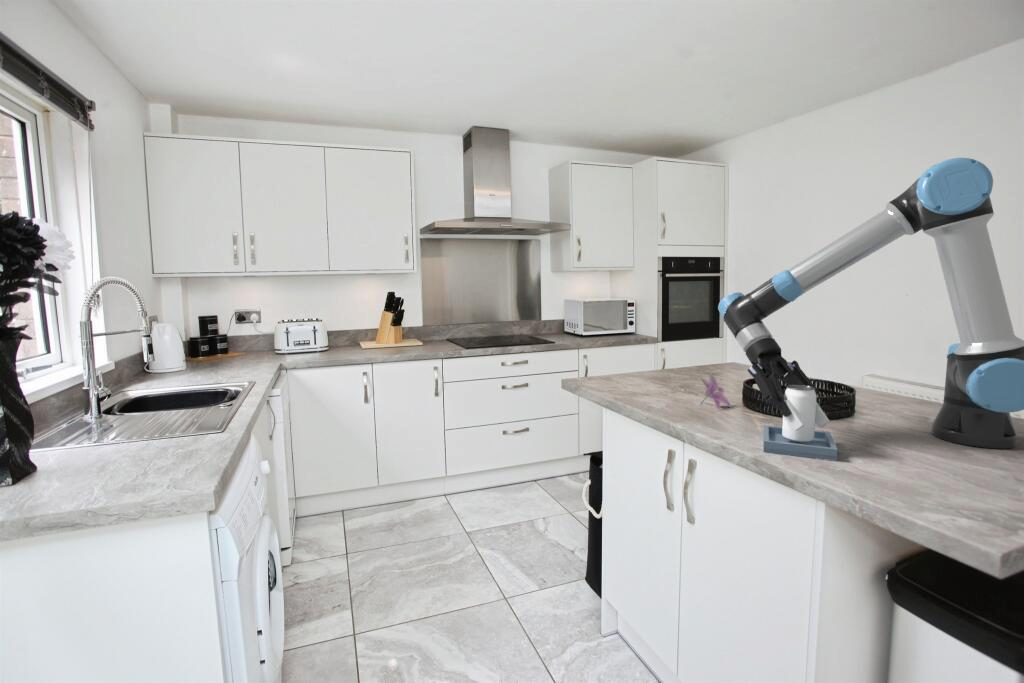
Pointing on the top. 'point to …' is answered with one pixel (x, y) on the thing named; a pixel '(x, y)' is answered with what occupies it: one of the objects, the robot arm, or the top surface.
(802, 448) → the tray
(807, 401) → the can
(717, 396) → the lily
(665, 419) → the top surface
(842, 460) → the top surface
